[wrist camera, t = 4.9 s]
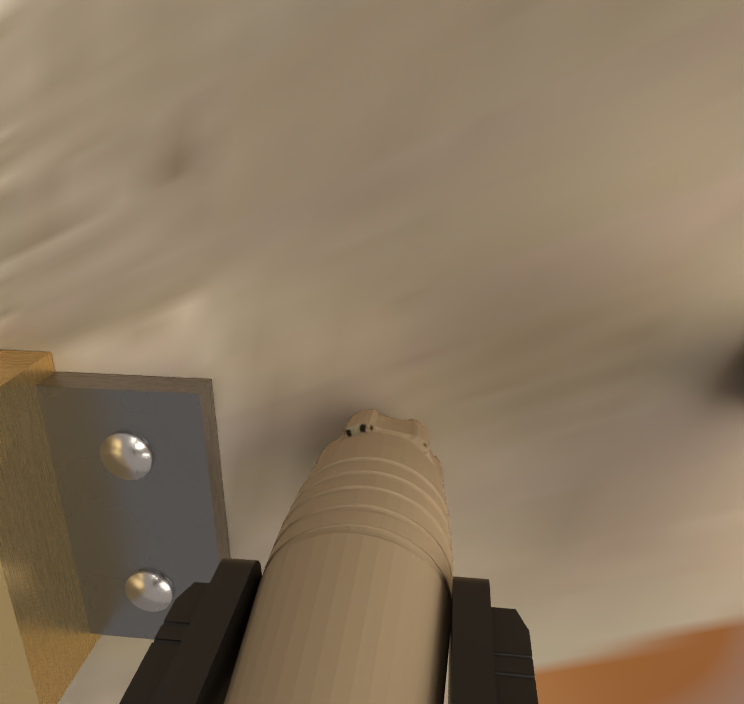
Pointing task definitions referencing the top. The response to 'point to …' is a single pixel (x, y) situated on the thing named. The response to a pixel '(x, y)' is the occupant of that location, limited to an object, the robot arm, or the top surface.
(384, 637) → the handle
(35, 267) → the top surface
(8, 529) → the wooden frame on plate
